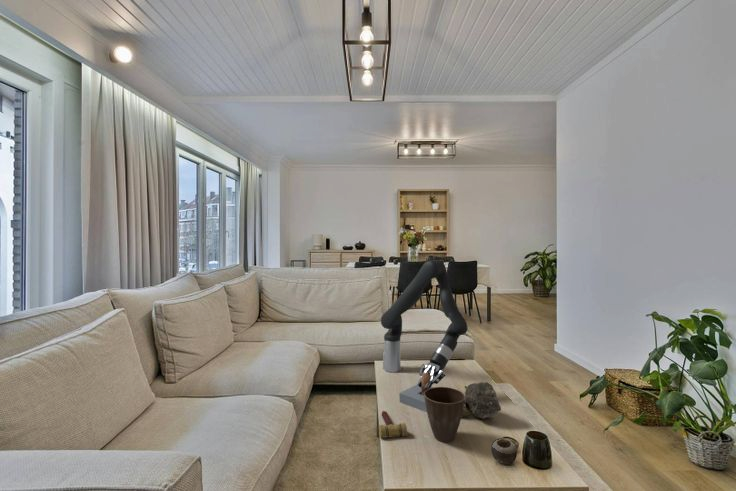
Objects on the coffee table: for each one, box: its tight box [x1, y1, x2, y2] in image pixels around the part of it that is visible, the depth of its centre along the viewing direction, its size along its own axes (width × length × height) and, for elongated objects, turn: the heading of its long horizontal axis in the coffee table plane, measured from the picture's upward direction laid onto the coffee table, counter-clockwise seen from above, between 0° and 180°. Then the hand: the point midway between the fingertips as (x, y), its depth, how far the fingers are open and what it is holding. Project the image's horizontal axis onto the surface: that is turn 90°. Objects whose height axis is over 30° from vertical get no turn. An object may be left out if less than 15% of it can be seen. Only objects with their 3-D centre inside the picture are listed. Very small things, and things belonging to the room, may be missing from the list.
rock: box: [461, 381, 502, 420], centre depth 152 cm, size 18×14×15 cm
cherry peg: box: [420, 373, 430, 395], centre depth 166 cm, size 4×4×10 cm
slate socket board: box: [399, 383, 433, 413], centre depth 166 cm, size 18×16×4 cm
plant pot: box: [424, 386, 465, 443], centre depth 137 cm, size 15×15×16 cm
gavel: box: [378, 410, 408, 440], centre depth 146 cm, size 21×5×10 cm
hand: (422, 387), depth 165 cm, fingers closed on cherry peg, 4 cm apart
